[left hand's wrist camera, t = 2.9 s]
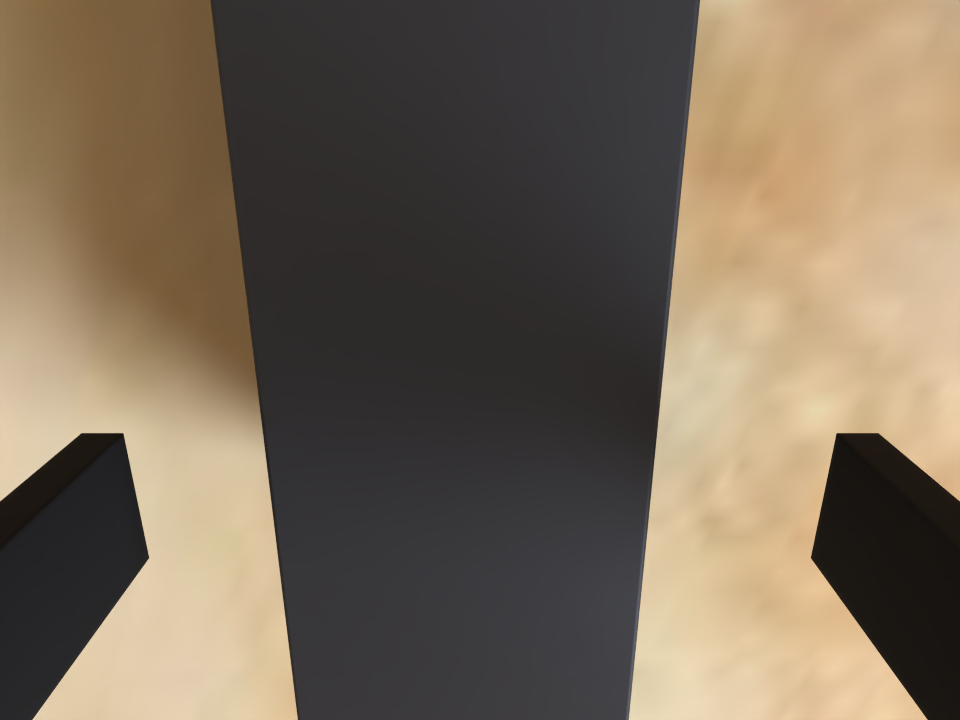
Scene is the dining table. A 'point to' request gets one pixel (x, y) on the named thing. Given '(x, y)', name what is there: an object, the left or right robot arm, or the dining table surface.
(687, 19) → the bar
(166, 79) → the dining table surface
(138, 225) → the dining table surface
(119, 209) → the dining table surface
